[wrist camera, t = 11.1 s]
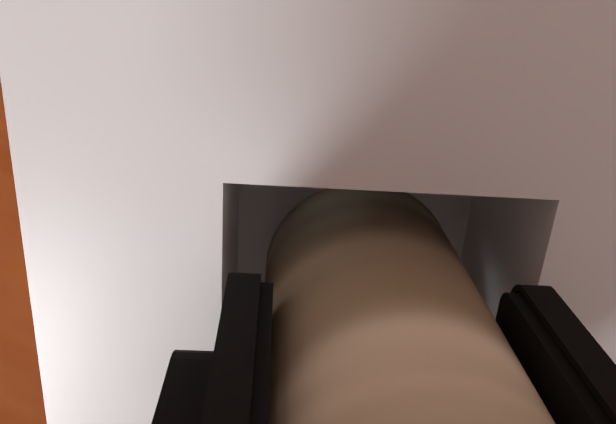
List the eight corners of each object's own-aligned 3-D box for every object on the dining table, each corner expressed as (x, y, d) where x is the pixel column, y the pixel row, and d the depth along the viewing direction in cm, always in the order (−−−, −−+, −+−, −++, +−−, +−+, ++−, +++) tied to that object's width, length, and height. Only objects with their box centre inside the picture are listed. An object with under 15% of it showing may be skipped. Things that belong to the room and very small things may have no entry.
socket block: (93, -50, 13) (-18, -56, 8) (639, -11, 13) (826, 4, 9) (124, 399, 17) (65, 559, 13) (526, 411, 18) (609, 567, 13)
